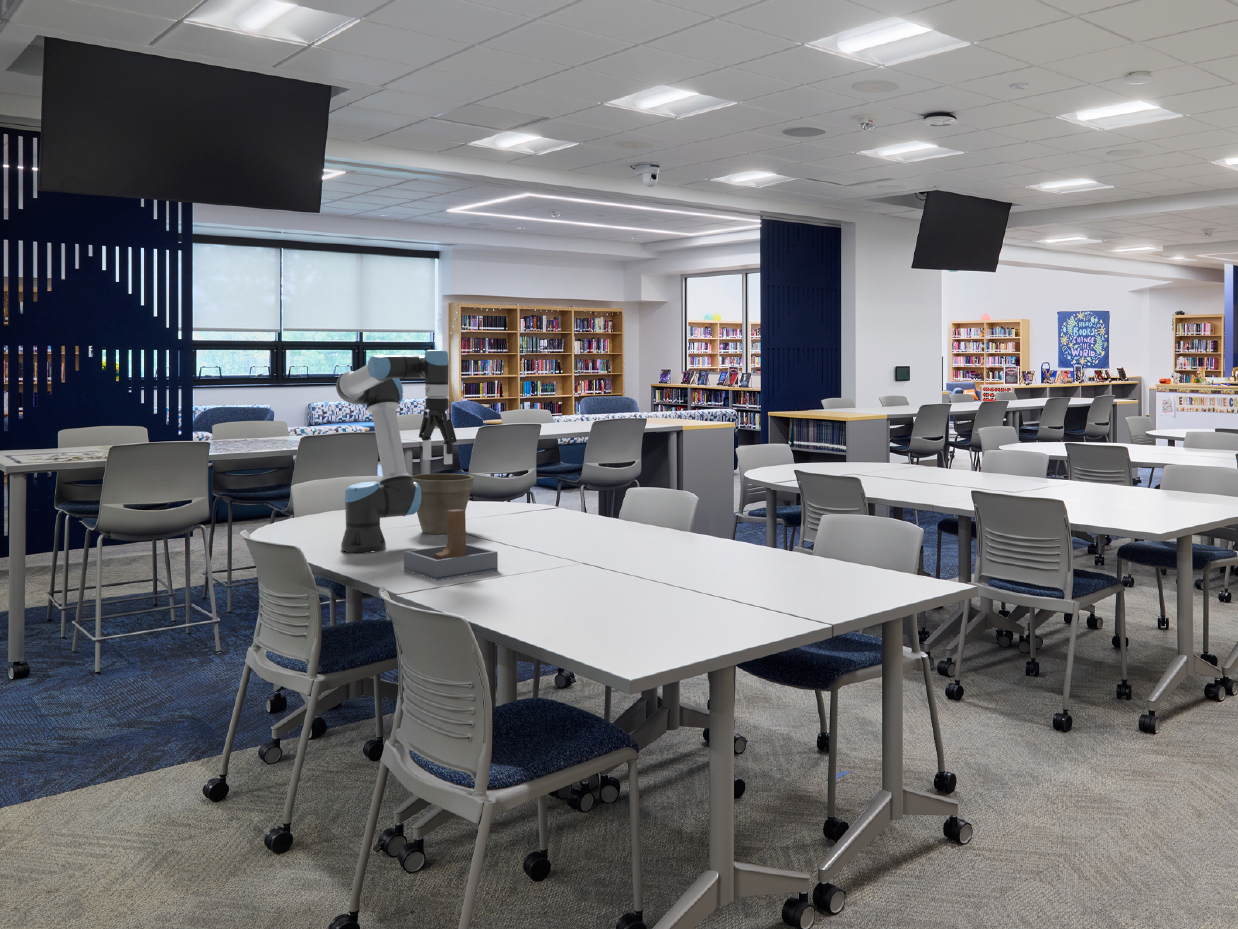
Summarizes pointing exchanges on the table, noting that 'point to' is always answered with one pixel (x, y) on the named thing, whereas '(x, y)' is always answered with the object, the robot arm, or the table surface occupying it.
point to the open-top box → (450, 562)
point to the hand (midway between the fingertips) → (437, 461)
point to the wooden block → (454, 535)
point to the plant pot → (441, 498)
